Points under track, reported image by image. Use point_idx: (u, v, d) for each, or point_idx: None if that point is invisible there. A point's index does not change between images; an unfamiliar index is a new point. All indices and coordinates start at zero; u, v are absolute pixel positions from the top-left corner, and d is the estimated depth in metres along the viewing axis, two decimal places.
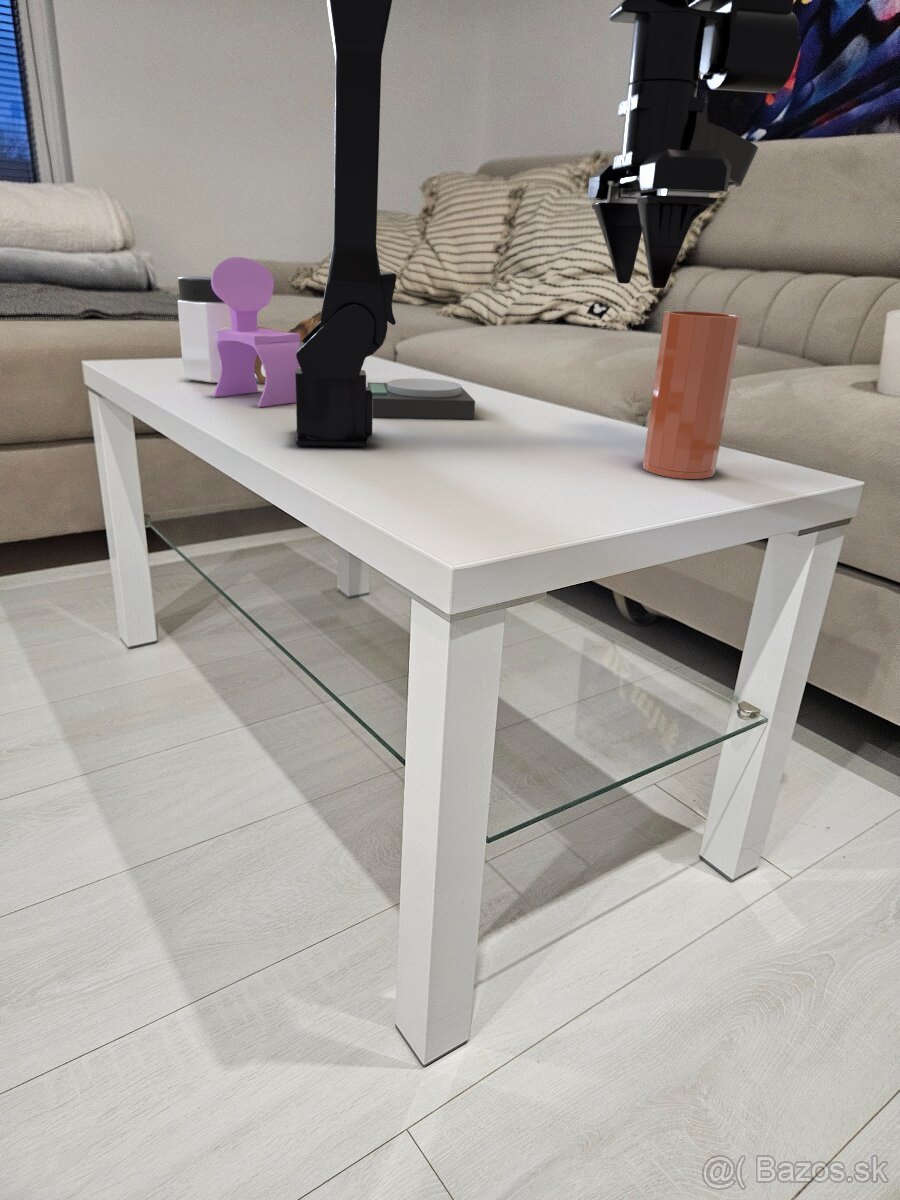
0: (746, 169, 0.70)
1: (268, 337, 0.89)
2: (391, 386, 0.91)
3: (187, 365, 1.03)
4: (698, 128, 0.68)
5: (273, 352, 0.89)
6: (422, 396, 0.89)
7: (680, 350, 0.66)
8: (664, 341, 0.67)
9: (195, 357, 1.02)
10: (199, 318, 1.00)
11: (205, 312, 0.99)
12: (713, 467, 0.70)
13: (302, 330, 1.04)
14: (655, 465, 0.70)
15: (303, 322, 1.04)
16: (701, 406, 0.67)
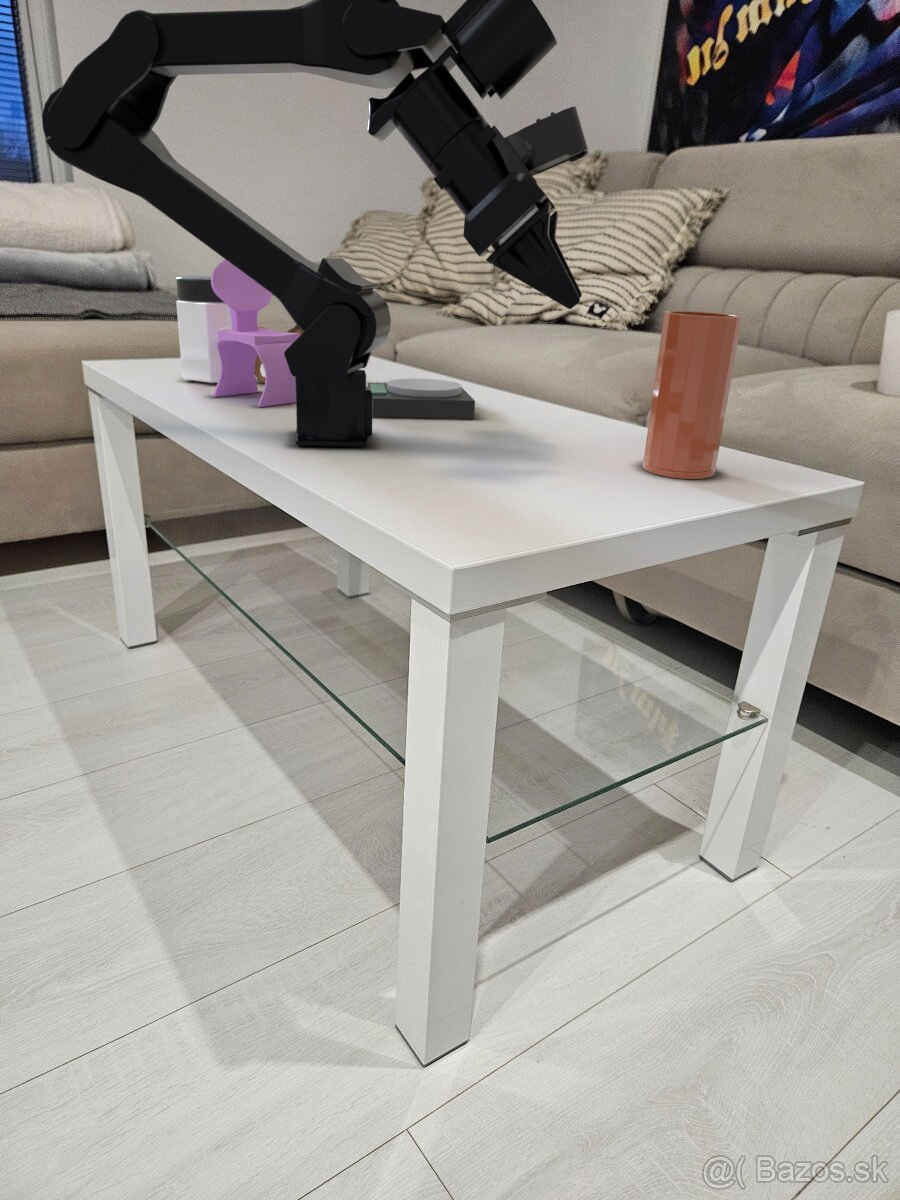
0: (577, 133, 0.62)
1: (268, 337, 0.89)
2: (391, 386, 0.91)
3: (186, 365, 1.03)
4: (502, 151, 0.63)
5: (273, 352, 0.89)
6: (422, 396, 0.89)
7: (680, 350, 0.66)
8: (664, 341, 0.67)
9: (194, 357, 1.02)
10: (198, 318, 1.00)
11: (205, 312, 0.99)
12: (713, 467, 0.70)
13: (301, 330, 1.04)
14: (655, 465, 0.70)
15: None
16: (701, 406, 0.67)
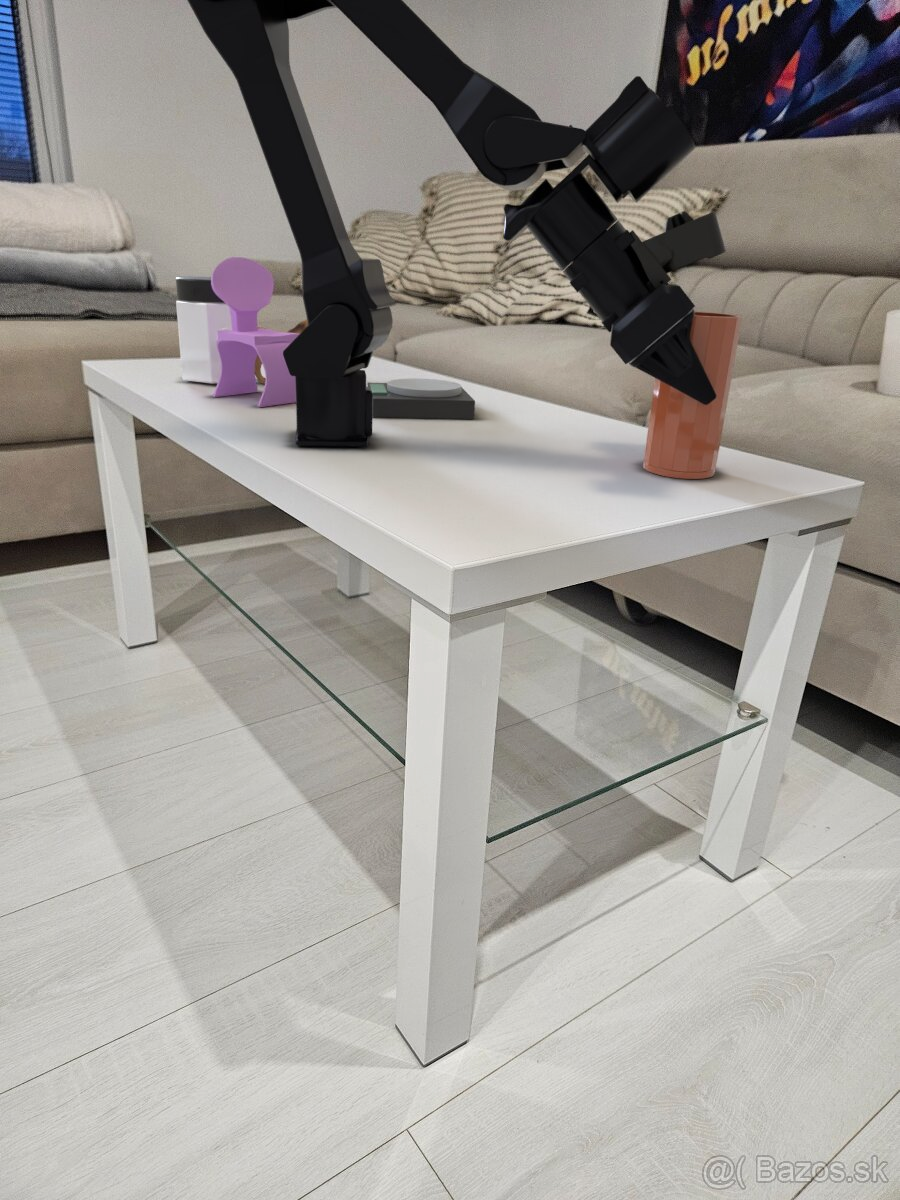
0: (717, 237, 0.63)
1: (268, 337, 0.89)
2: (391, 386, 0.91)
3: (186, 366, 1.02)
4: (641, 255, 0.64)
5: (273, 352, 0.89)
6: (422, 396, 0.89)
7: None
8: None
9: (195, 358, 1.01)
10: (199, 319, 0.99)
11: (205, 313, 0.98)
12: (713, 467, 0.70)
13: (302, 330, 1.04)
14: (655, 465, 0.70)
15: (302, 322, 1.04)
16: (701, 406, 0.67)
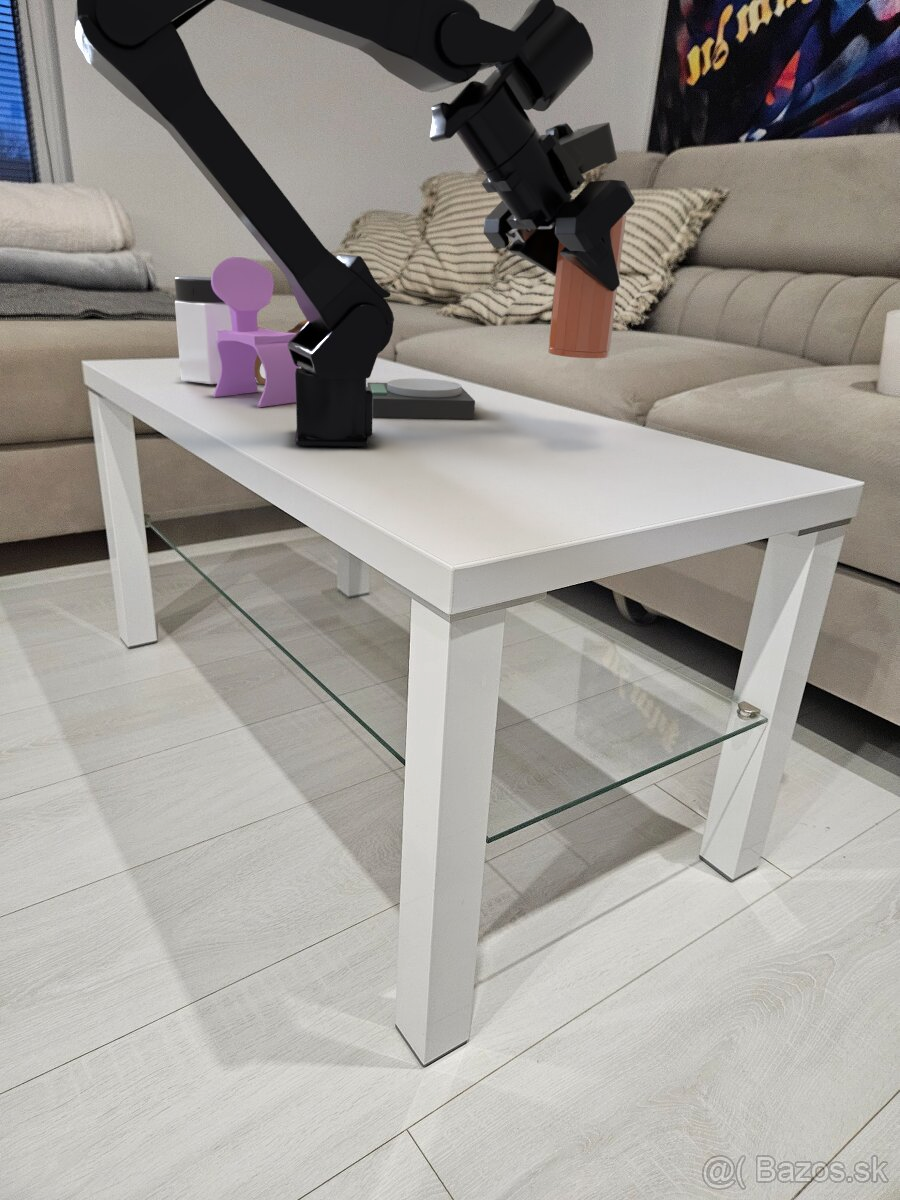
0: (613, 145, 0.75)
1: (268, 337, 0.89)
2: (391, 386, 0.91)
3: (185, 367, 1.02)
4: (562, 158, 0.73)
5: (273, 352, 0.89)
6: (422, 396, 0.89)
7: None
8: None
9: (193, 358, 1.01)
10: (197, 319, 0.99)
11: (204, 313, 0.98)
12: None
13: None
14: (571, 349, 0.81)
15: (302, 323, 1.04)
16: (607, 293, 0.80)
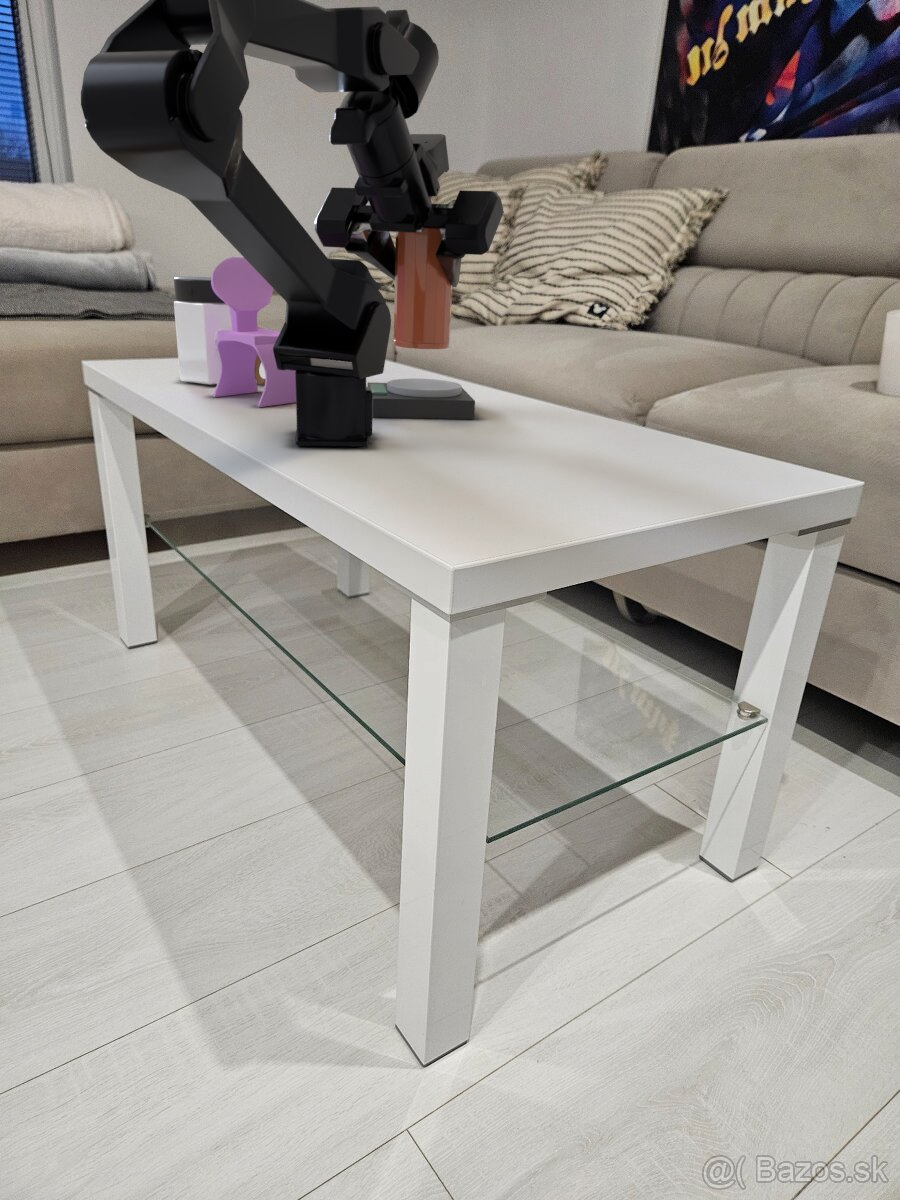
0: None
1: (268, 337, 0.89)
2: (391, 386, 0.91)
3: (184, 367, 1.02)
4: (428, 166, 0.79)
5: None
6: (422, 396, 0.89)
7: None
8: (423, 239, 0.84)
9: (192, 359, 1.01)
10: (196, 319, 0.98)
11: (202, 313, 0.98)
12: None
13: None
14: (431, 342, 0.88)
15: None
16: (451, 289, 0.88)
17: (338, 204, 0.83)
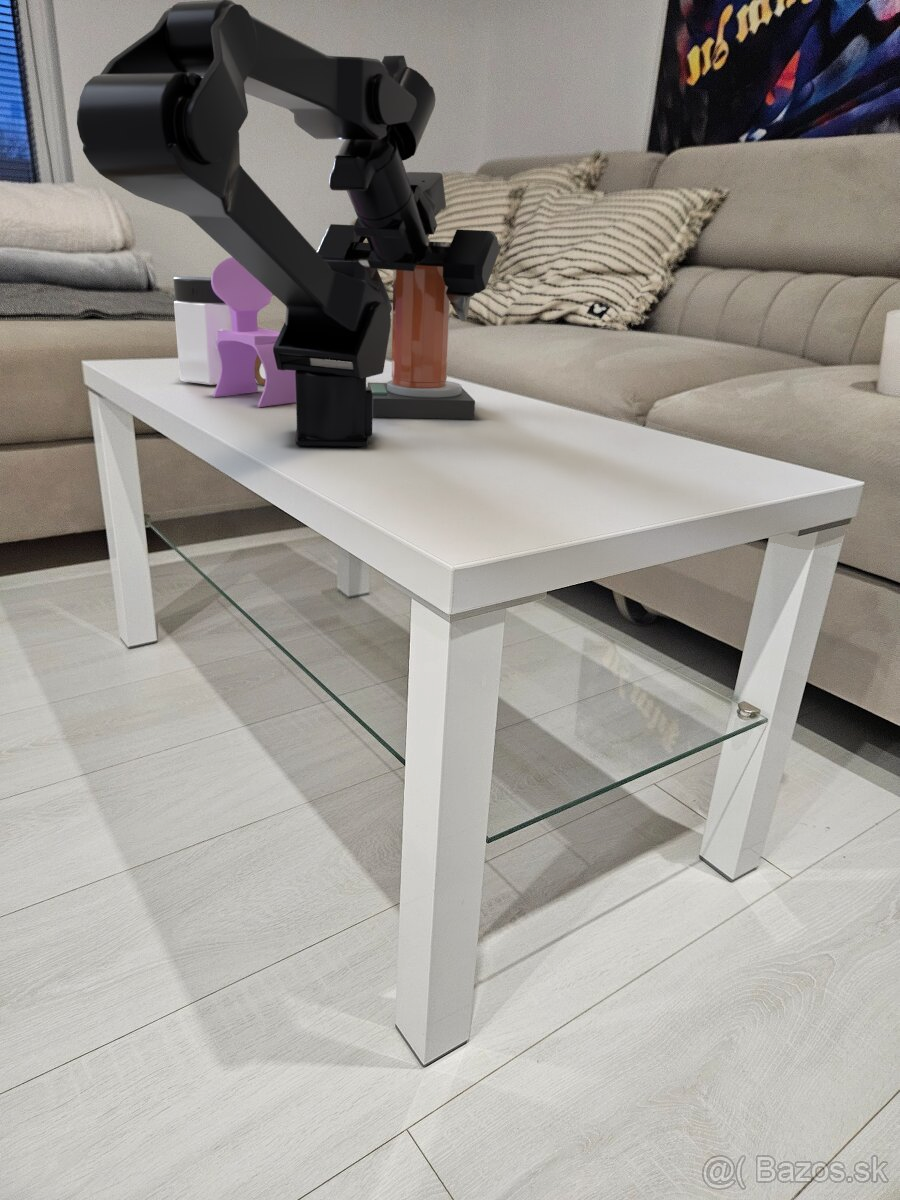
0: (444, 193, 0.84)
1: (268, 337, 0.89)
2: (391, 386, 0.91)
3: (184, 367, 1.01)
4: (426, 206, 0.80)
5: None
6: (422, 396, 0.89)
7: (438, 287, 0.87)
8: (421, 282, 0.86)
9: (193, 359, 1.00)
10: (197, 319, 0.98)
11: (203, 313, 0.98)
12: None
13: None
14: (428, 381, 0.90)
15: None
16: (448, 329, 0.90)
17: (337, 241, 0.85)
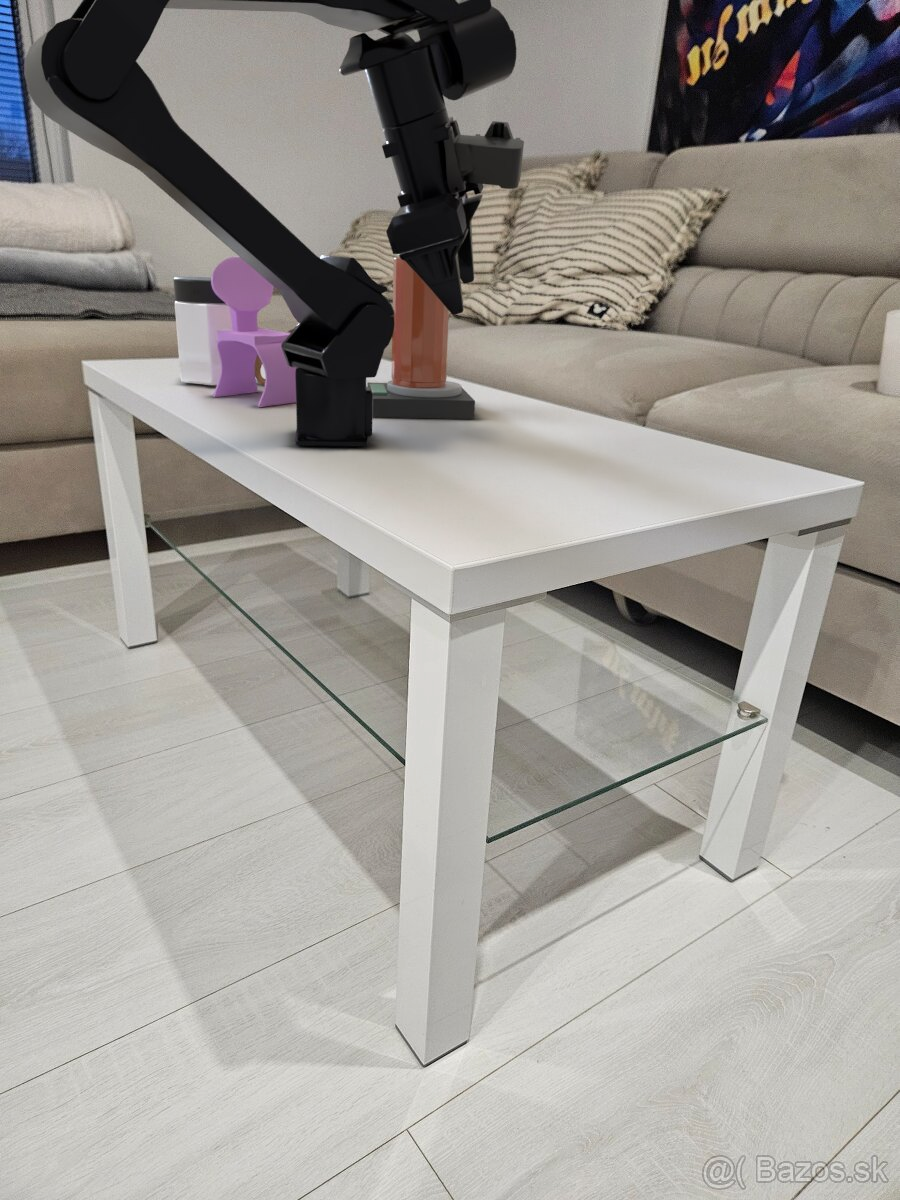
0: (514, 173, 0.70)
1: (268, 337, 0.89)
2: (391, 386, 0.91)
3: (185, 368, 1.01)
4: (448, 156, 0.70)
5: (273, 352, 0.89)
6: (422, 396, 0.89)
7: None
8: (421, 282, 0.86)
9: (194, 360, 1.00)
10: (199, 320, 0.98)
11: (206, 314, 0.97)
12: None
13: None
14: (428, 381, 0.90)
15: None
16: (448, 329, 0.90)
17: None
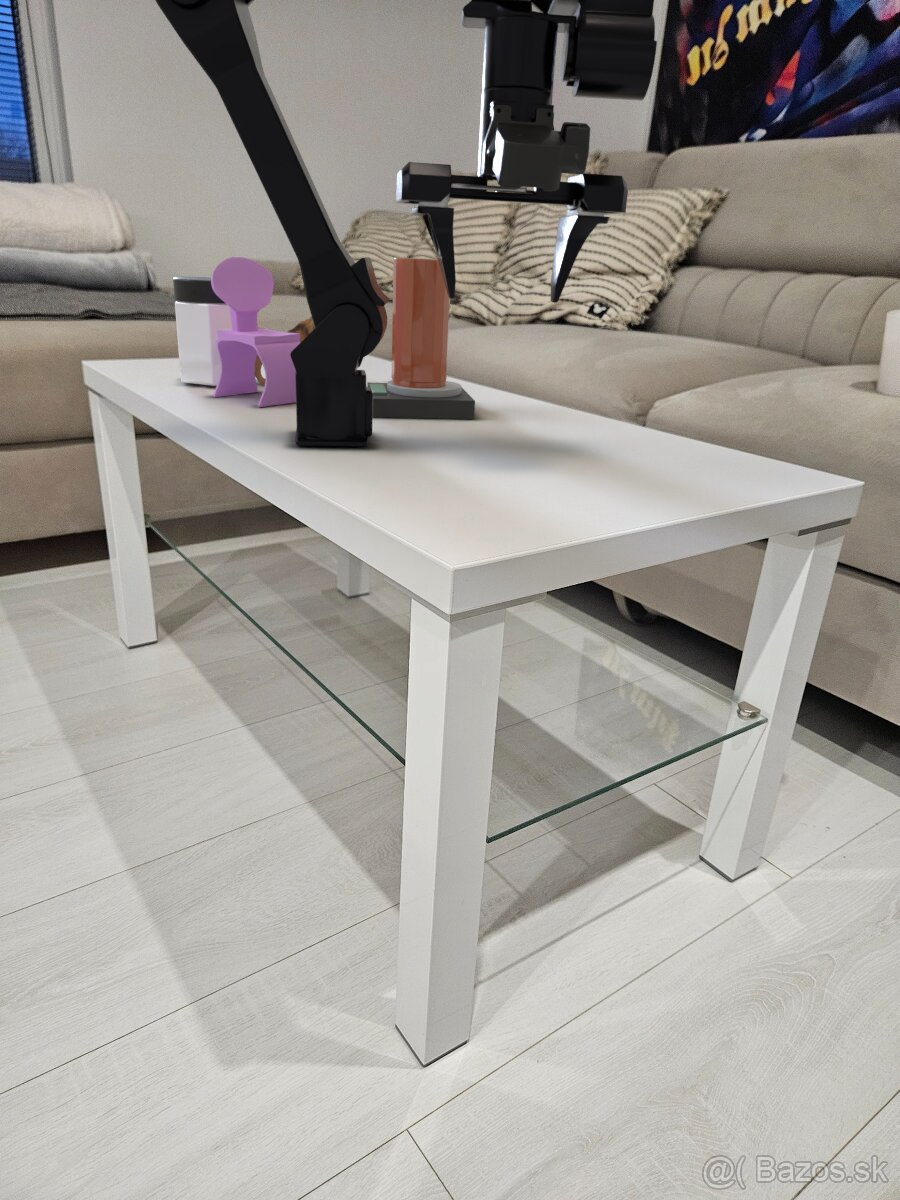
0: (503, 169, 0.61)
1: (268, 337, 0.89)
2: (391, 386, 0.91)
3: (185, 368, 1.00)
4: (487, 133, 0.65)
5: (273, 352, 0.89)
6: (422, 396, 0.89)
7: (438, 287, 0.86)
8: (421, 282, 0.86)
9: (195, 360, 1.00)
10: (200, 320, 0.98)
11: (207, 314, 0.97)
12: None
13: (302, 330, 1.04)
14: (428, 381, 0.90)
15: (302, 322, 1.04)
16: (448, 329, 0.90)
17: None
